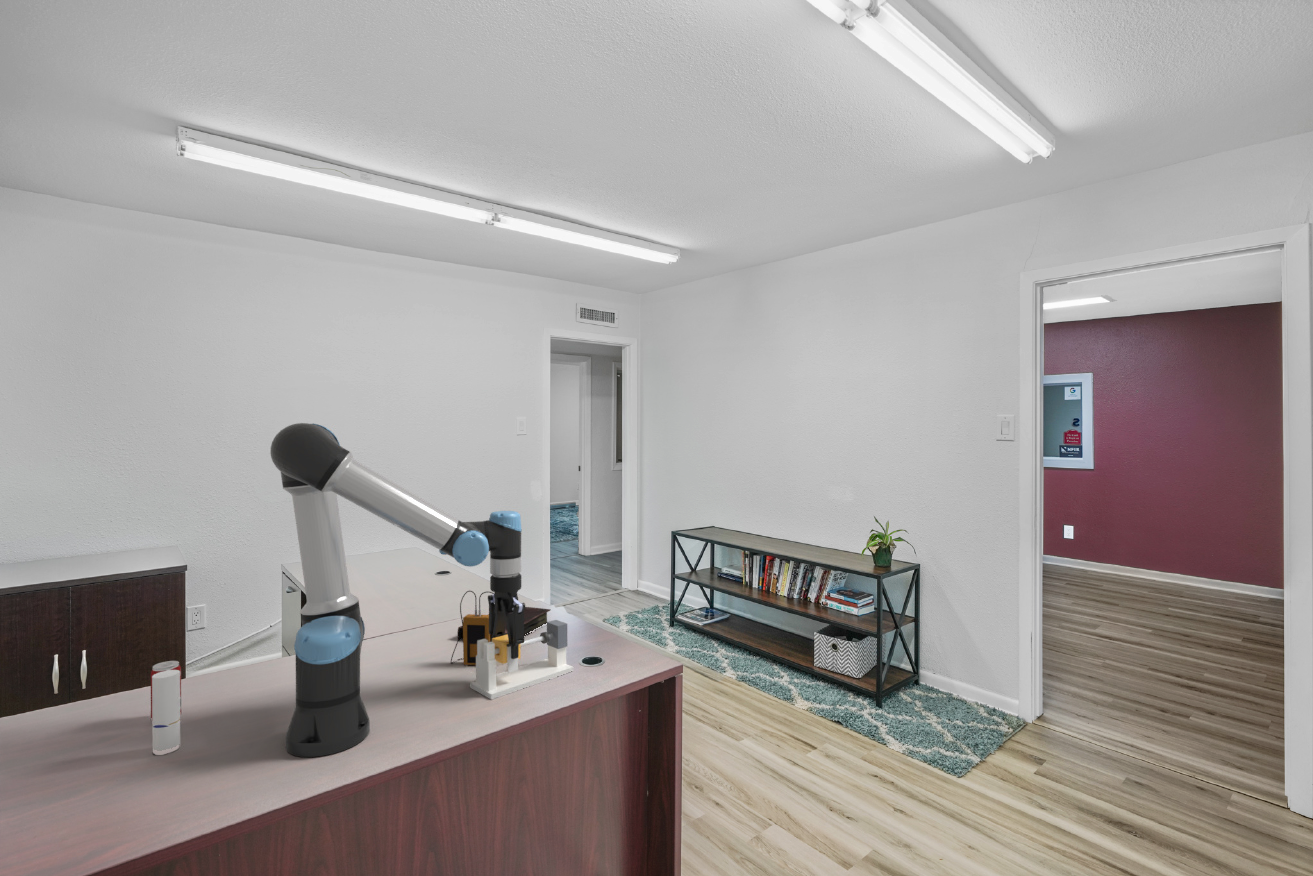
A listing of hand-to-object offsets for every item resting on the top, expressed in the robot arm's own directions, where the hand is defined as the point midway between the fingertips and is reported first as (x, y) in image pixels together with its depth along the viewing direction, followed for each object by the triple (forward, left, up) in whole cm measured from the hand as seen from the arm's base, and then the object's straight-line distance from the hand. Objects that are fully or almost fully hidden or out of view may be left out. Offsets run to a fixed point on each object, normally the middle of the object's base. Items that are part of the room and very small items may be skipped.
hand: (506, 667), depth 153 cm
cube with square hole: (0, 0, +2) cm, 2 cm away
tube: (-64, +20, -4) cm, 67 cm away
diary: (+23, +37, -5) cm, 44 cm away
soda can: (-62, +37, -4) cm, 72 cm away
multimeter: (+5, +20, -4) cm, 21 cm away
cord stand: (+5, 0, -4) cm, 6 cm away
